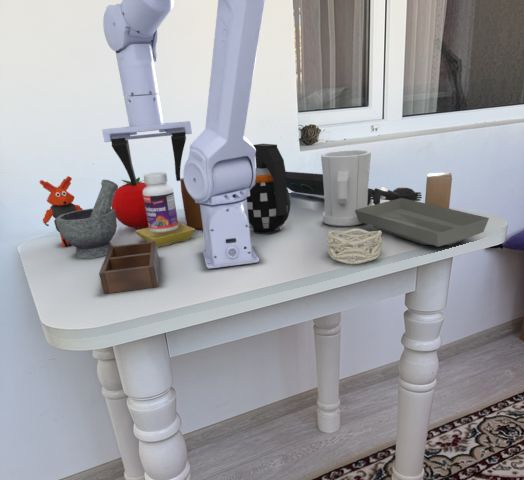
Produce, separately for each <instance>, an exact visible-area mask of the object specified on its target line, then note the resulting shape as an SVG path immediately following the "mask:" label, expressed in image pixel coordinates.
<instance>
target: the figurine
mask: <svg viewBox="0 0 524 480" xmlns="http://www.w3.org/2000/svg"><path fill="white" fill-rule="evenodd" d="M399 198H404V199H409V200H413V201H417V202H421V199H422V198H423V197H422V192H419V191H415V190H414V189H413V188H409V187H397V188H395V189H393V190H391V189H388V188H387V187H380V188H377V187H376V188H374V189H373V188H369V187H368V201H367V205H369V204H370V201H371V199H372V204H373V205H376V204H380V203H381V201H392V200H395V199H399Z"/></svg>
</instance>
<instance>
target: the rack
mask: <svg viewBox="0 0 524 480" xmlns="http://www.w3.org/2000/svg"><path fill="white" fill-rule="evenodd" d="M159 259H160V257H159V251H158V247H157V246H156V241H152V242H147V241H144V242H137V243H128V244H120V245H112V246H111V247H109V249H108V252H107V254H106V255H105V256H104V260H103V262H102V265H101V268H100V270H99V273H98V275H99V279H100V284H101V287H102V291H103V294H104V295H108V294H115V293H122V292H131V291H136V290H137V291H138V290H143V289H144V290H146V289H152V288H158V287H159V267H160V265H159V263H160V260H159Z"/></svg>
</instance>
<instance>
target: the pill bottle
mask: <svg viewBox="0 0 524 480" xmlns="http://www.w3.org/2000/svg"><path fill="white" fill-rule="evenodd" d="M143 180H144V181H143V183H145V184H146V185H147V187H146V188H144V189H143V198H144V203H145V209H146V215H147V221H148V226H149V227H148V228H149V230H150V231H151V232H155V233H162V232H170V231H173V230H176V229H177V228H178V223H179V220H178V219H179V218H178V214H177V213H178V212H177V207H176V201H175V193H174V188H173V187H172V186H171V185H169V184H168V183H167V182H168V174H167V172H163V171H160V172H158V171H157V172H149V173H145V174H143Z"/></svg>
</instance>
